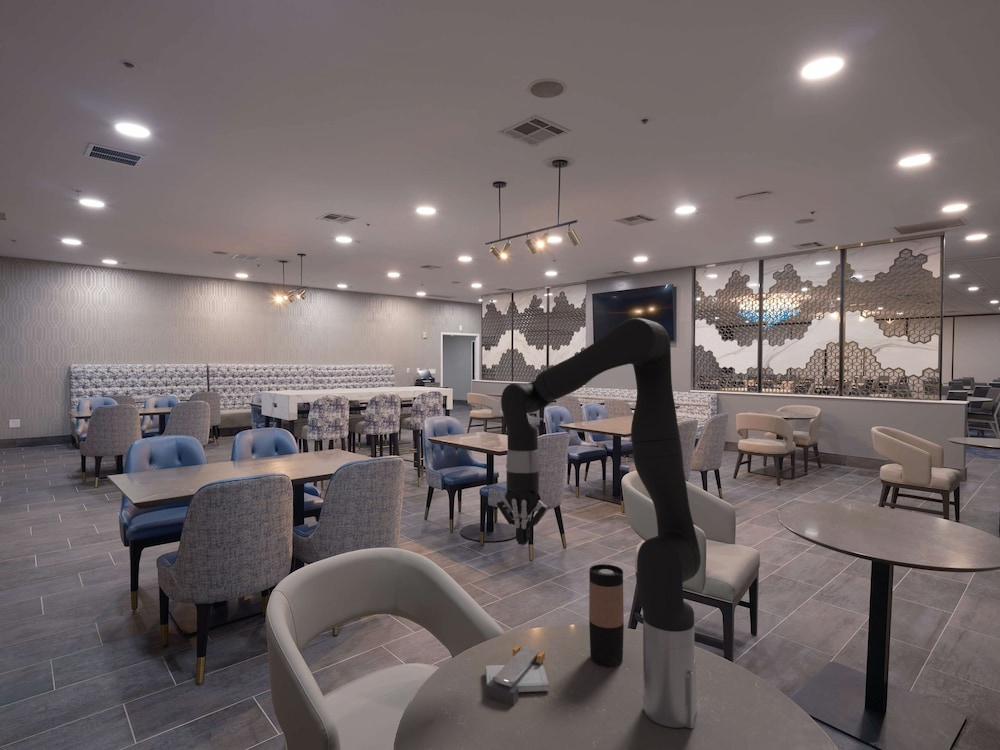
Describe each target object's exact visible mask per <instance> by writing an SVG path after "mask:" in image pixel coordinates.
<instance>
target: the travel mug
mask: <svg viewBox="0 0 1000 750" xmlns="http://www.w3.org/2000/svg"><path fill="white" fill-rule="evenodd" d="M588 576H589V582H588V583H589V587H588V588H589V591H588V593H589V594H588V595H589V601H588V603H589V605H588V608H589V610H588V613H589V614H588V617H589V618H588V620H589V621H588V625H589V626H588V627H589V650H590V651H589V653H590V654H589V655H590V660H591V662H593V663H594V664H596V665H598V666H601V667H603V668H616V667H619V666H620V665H622V664H623V661H624V660H623V658H624V631H625V630H624V629H625V628H624V625H625V623H624V622H625V617H624V614H625V613H624V612H625V609H624V606H625V605H624V570H623V569H622V568H621V567H619V566H616V565H612V564H605V563H604V564H596V565H591V566H590V568H589V575H588Z"/></svg>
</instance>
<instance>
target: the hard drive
mask: <svg viewBox="0 0 1000 750" xmlns="http://www.w3.org/2000/svg"><path fill="white" fill-rule="evenodd" d="M505 665H506V664H504V665H501V664H500V665H497V664H496V665H485V668H484V669H485V671H484V673H485V680H486V681H485V683H486V685H485V686H487V684H488V683H489V682H490V681H491V680H492V678H493V677H495V675H496V674H497V673H498V672H499V671H500V670H501V669H502V668H503V667H504V666H505ZM549 685H550V683H549V680H548V678H547V674H546V670H545V667H544V663H543V664H541V665H540V666H538V665H533V664H530V665H529V666H528V668H527V669H526V670H525V671H524V672H523V673H522V674H521V676H520V677H519V678H518V679H517V680H516V681H515V682H514V684H513V685H512V686H514V687H517V688H518V693H526V692H527V693H528V692H549V691H550V686H549Z"/></svg>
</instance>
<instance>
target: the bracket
mask: <svg viewBox="0 0 1000 750" xmlns="http://www.w3.org/2000/svg"><path fill="white" fill-rule="evenodd" d="M521 648H522V647H521V646H520V645H517V644H515V646H514V647H513V648H512V656H513V657H514V656H515V655H516V654H517V653H518V652H519V651H520V650H521ZM545 653H546V652H544V651H541V650H540V652H539V654H538V655H537V657H536V658H535V660H534V661H533V662H532V663H531V664H533V665H538V666H540V665H541V664H543V665H544V660H545V658H546V657H545V655H546V654H545ZM486 698H488V699H491V700H494V701H498V702H500V703H505V704H507V705H511V706H514V707H515V705H516V704H517V703H518V701H519V692H518V688H517V687H514V686H512V687H508V686H505V685H501V684H498V683H494V682H492V680H491V681H490V682H489V683H488V684H487V685H486Z"/></svg>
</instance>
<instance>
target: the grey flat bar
mask: <svg viewBox="0 0 1000 750" xmlns="http://www.w3.org/2000/svg"><path fill="white" fill-rule="evenodd" d="M540 651H541V650H540V649H536V648H531V647H528V646H522V647H521V650H520V651H519V652H518V653H517V654H516V655H515V656H513V657H512V658H510V660H509V661H508V662H507V663H506V664H504V665H505V666H504V667H503V668H502V669H501V670H500V671H499V672H498V673H497V674H496V675H495V677H493V678H492V682H494V683H498V684H501V685H505V686H508V687H512V685H513V684H514V682H515V681H516V680H517V679H518V678H519V677H520V676H521V674H522V673H523V672H524V671H525V670H526V669H527V668H528V666H529V665H530V664H531V663H532V662H533V661H534V660H535V658H536V657H537V655H538V654H539V652H540Z"/></svg>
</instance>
